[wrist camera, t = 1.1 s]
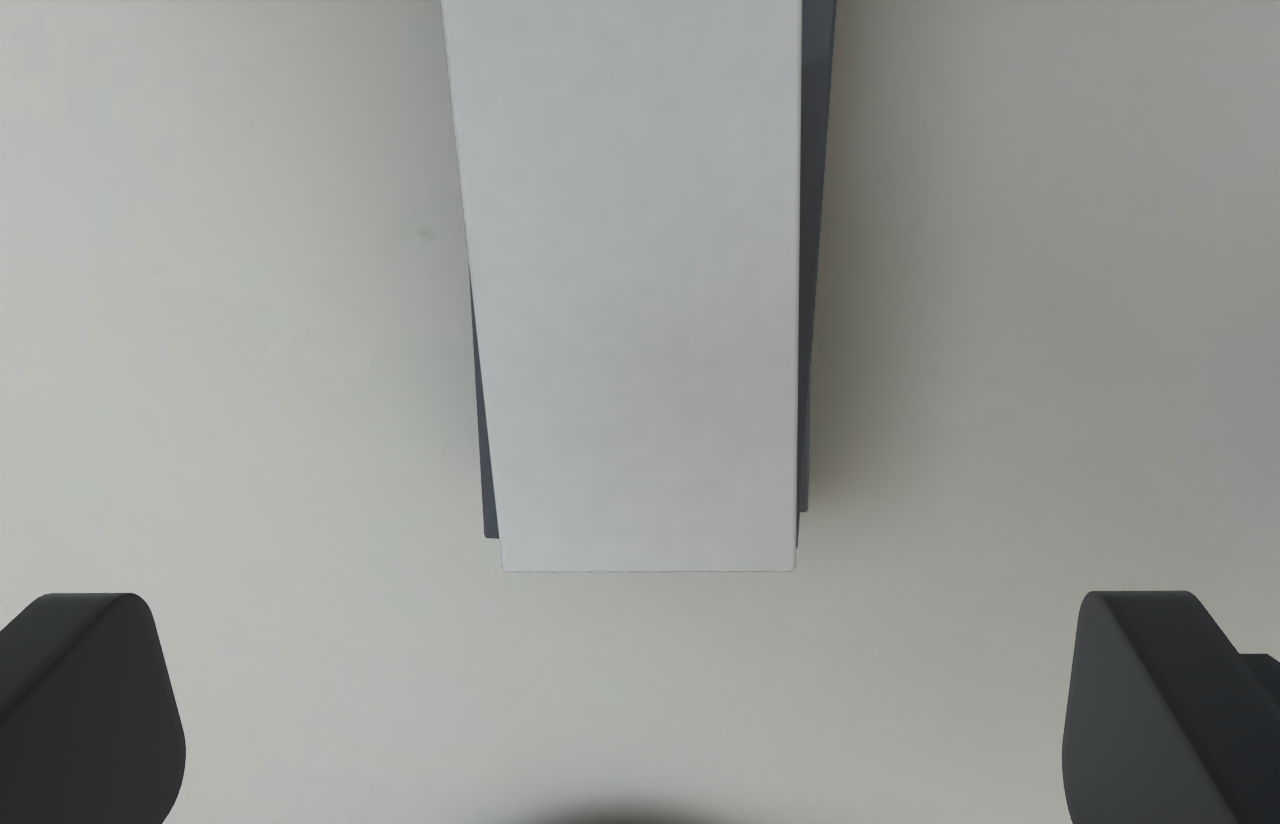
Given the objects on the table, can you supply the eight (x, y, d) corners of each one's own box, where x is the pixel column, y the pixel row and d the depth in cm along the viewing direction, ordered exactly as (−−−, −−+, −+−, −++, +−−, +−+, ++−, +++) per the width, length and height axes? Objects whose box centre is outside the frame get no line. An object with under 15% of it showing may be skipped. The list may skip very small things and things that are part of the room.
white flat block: (459, -61, 19) (431, -63, 17) (795, -79, 19) (803, -84, 17) (519, 526, 24) (502, 573, 22) (790, 525, 23) (796, 573, 22)
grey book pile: (449, -91, 22) (409, -100, 19) (828, -113, 21) (844, -124, 18) (509, 492, 27) (485, 553, 24) (817, 490, 26) (828, 552, 24)
